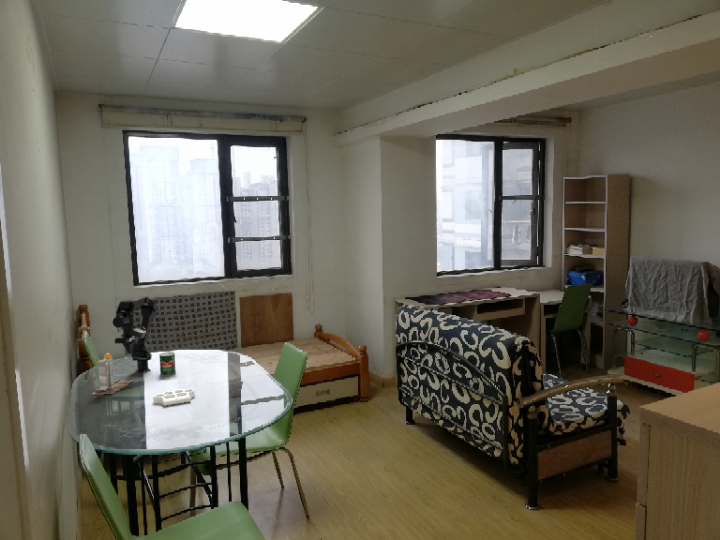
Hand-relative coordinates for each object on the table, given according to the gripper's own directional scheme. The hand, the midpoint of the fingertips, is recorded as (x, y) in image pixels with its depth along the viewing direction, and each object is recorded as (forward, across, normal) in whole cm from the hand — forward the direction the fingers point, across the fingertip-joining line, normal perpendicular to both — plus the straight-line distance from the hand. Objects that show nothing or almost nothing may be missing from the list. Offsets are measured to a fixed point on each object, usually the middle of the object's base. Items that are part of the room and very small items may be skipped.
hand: (129, 353), depth 278 cm
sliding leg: (+12, -21, +1) cm, 24 cm away
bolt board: (+13, -18, 0) cm, 22 cm away
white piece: (+14, -36, -39) cm, 55 cm away
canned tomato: (+13, +7, -17) cm, 23 cm away
